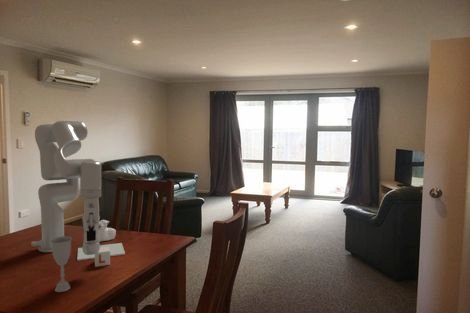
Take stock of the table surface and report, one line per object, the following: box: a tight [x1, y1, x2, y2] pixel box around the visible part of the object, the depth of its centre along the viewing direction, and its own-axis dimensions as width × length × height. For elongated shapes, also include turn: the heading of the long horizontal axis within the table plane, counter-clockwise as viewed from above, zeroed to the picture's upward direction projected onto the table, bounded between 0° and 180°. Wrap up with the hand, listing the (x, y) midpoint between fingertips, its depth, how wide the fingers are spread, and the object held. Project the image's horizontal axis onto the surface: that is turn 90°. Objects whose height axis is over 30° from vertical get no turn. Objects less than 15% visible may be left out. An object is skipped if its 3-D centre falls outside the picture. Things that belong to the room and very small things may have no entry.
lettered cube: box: [94, 247, 111, 268], centre depth 143 cm, size 6×6×6 cm
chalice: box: [51, 235, 73, 293], centre depth 119 cm, size 7×7×18 cm
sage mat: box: [76, 242, 126, 262], centre depth 157 cm, size 20×16×1 cm
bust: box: [98, 219, 117, 243], centre depth 175 cm, size 12×8×11 cm
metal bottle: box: [81, 205, 101, 255], centre depth 131 cm, size 6×7×20 cm
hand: (91, 237), depth 131 cm, fingers closed on metal bottle, 5 cm apart
